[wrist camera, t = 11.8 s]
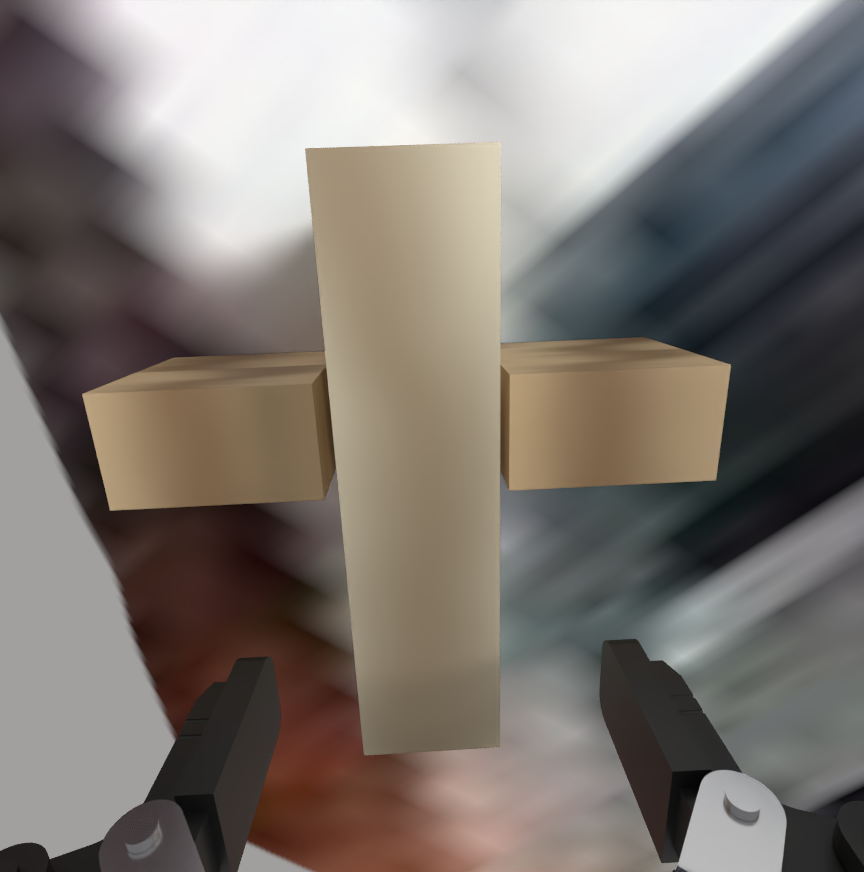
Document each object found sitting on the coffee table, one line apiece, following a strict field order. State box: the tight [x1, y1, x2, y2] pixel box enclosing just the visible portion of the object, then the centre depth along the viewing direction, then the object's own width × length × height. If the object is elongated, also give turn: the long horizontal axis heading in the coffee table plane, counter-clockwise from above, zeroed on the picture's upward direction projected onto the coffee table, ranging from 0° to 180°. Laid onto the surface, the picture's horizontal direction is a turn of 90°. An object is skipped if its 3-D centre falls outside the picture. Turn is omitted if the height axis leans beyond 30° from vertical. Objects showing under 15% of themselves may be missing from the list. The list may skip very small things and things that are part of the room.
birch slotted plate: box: [305, 142, 501, 755], centre depth 17 cm, size 4×14×10 cm, turn 2°
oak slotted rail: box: [82, 337, 731, 511], centre depth 18 cm, size 18×4×6 cm, turn 92°
